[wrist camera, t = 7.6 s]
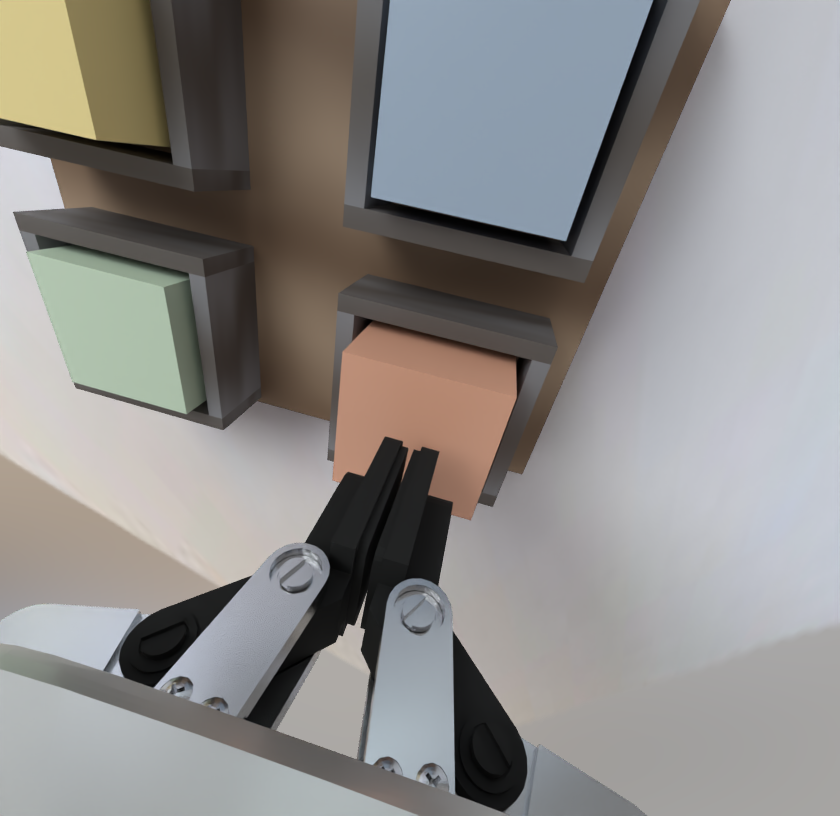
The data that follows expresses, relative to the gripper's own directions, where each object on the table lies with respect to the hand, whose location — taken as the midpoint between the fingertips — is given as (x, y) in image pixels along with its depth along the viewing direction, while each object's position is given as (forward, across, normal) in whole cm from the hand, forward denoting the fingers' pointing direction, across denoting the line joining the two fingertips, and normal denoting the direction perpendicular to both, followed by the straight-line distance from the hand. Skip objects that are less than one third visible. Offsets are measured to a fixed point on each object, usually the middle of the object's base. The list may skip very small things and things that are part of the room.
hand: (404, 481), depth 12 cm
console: (+8, +6, -5) cm, 11 cm away
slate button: (+6, 0, -10) cm, 11 cm away
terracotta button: (+5, 0, -1) cm, 5 cm away
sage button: (+6, +12, -1) cm, 14 cm away
